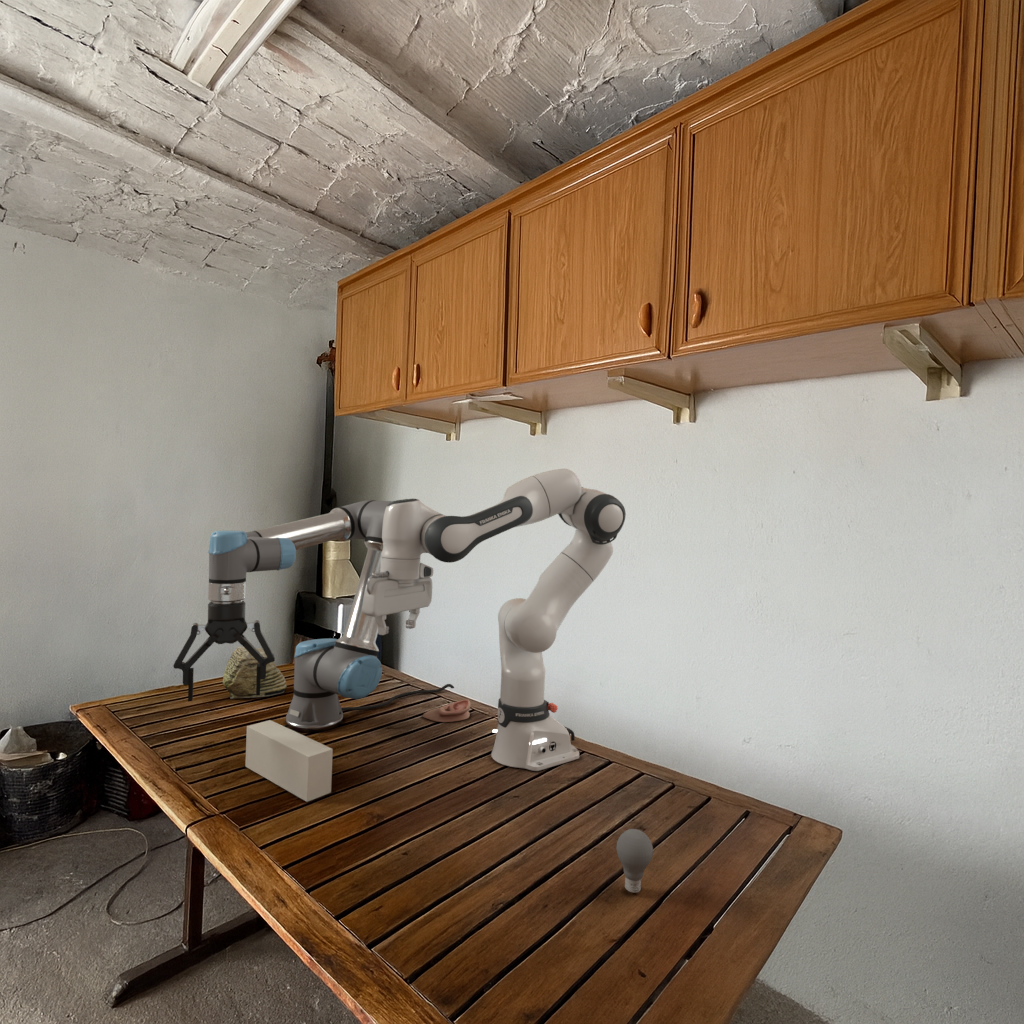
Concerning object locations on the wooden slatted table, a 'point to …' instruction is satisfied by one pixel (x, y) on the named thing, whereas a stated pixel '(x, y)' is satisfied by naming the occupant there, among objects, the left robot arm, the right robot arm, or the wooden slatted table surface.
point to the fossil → (251, 676)
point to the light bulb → (634, 857)
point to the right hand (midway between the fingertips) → (397, 631)
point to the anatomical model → (450, 712)
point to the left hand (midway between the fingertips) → (224, 696)
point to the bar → (289, 759)
